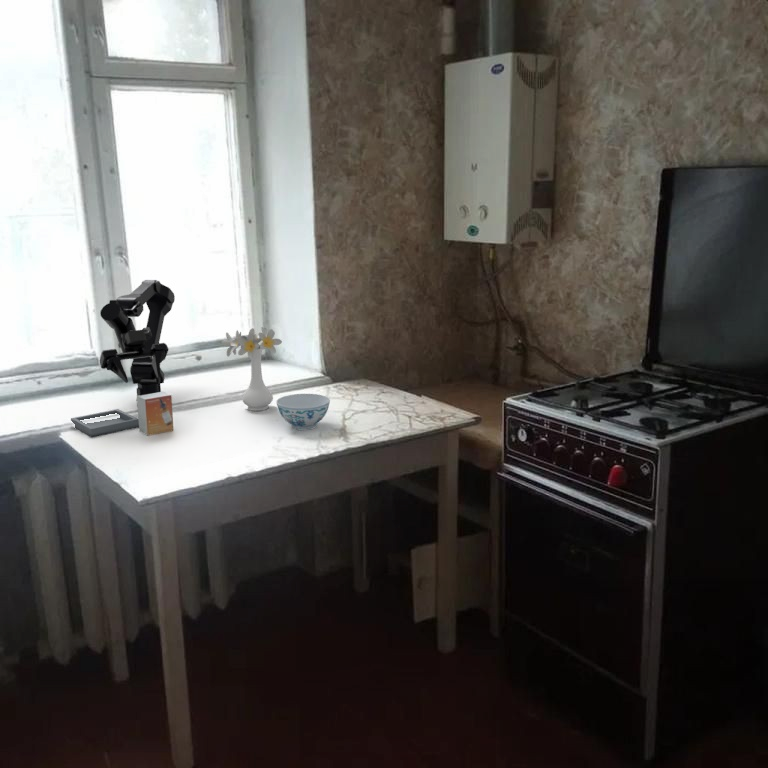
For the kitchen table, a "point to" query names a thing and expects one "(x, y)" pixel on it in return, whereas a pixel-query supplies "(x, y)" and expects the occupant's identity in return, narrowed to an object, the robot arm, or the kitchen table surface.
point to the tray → (106, 423)
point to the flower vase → (254, 364)
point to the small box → (155, 413)
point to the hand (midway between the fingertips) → (143, 379)
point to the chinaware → (303, 409)
